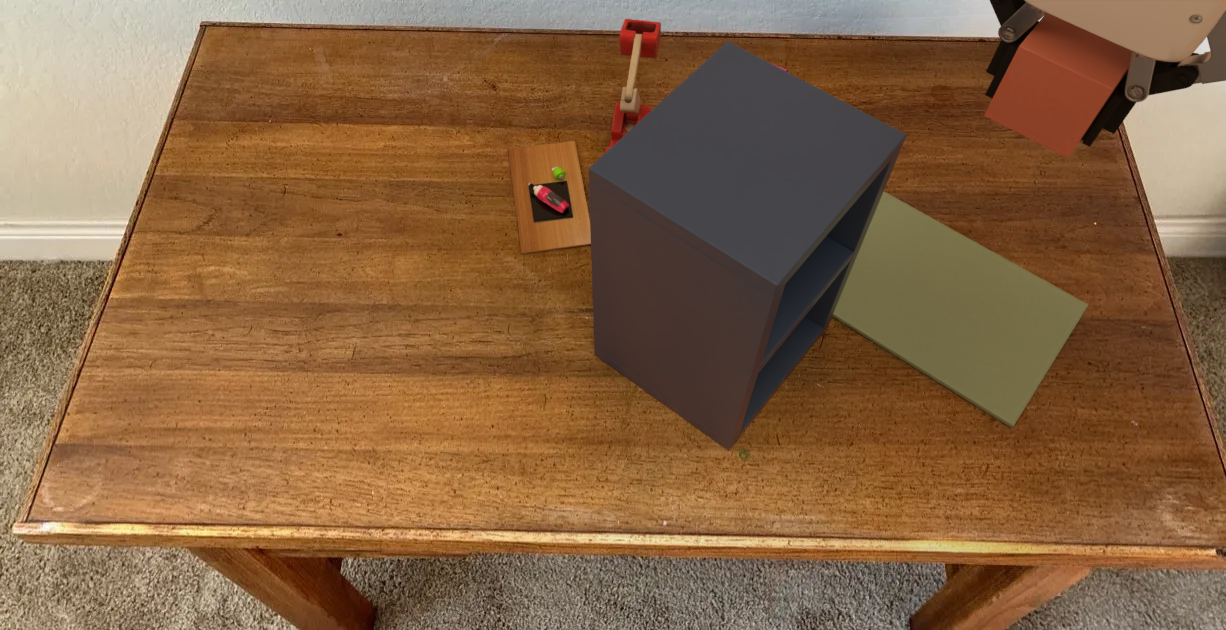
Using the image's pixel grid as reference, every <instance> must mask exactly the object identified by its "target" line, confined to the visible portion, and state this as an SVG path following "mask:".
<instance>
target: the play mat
mask: <svg viewBox="0 0 1226 630" xmlns="http://www.w3.org/2000/svg"><path fill="white" fill-rule="evenodd" d="M1088 307H1089V304H1088V303H1086V302H1084V300H1083V301H1082V300H1081V299H1079V298H1077V297H1076V296H1074V295H1072V294H1070V293H1069V292H1066V291H1064V290H1063V289H1061V288H1060V287H1058V286H1055V285H1054V284H1052V283H1050V282H1049V281H1046V280H1045V279H1043V278H1041V277H1039V276H1037V275H1036V274H1034V273H1032V272H1030V271H1029V270H1027V269H1025V268H1023V267H1022V266H1019V265H1018V264H1016V263H1014V262H1012V261H1011V260H1008V259H1007V258H1005V257H1003V256H1001V255H999V254H998V253H996V252H994V251H992V250H990V249H989V248H987V247H985V246H984V245H981V244H980V243H978V242H976V241H974V240H972V239H971V238H969V237H967V236H965V235H963V234H962V233H960V232H958V231H956V230H954V229H953V228H951V227H949V226H947V225H945V224H943V223H942V222H940V221H938V220H937V219H934V218H933V217H931V216H929V215H928V214H926V213H924V212H922V211H921V210H919V209H917V208H915V207H913V206H912V205H910V204H908V203H906V202H904V201H902V200H900V199H899V198H898V197H895V196H894V195H891V194H890V193H888V192H886V191H885V190H884V191H883V194H882V196H881V199H880V201H879V204H878V206H877V208H876V211H875V213H874V216H873V218H872V221H871V223H870V225H869V228H868V230H867V233H866V235H865V238H864V240H863V242H862V245H861V247H860V250H859V252H858V255H857V257H856V259H855V262H854V264H853V267H852V269H851V272H850V274H849V276H848V279H847V281H846V284H845V286H844V289H843V291H842V293H841V296H840V298H839V301H838V303H837V306H836V308H835V310H834V313H833V315H832V318H834V319H835V320H837V321H839V322H841V324H844V325H845V326H847V327H848V328H850V329H852V330H853V331H855V332H856V333H858V334H860V335H861V336H863V337H864V338H866V339H868V340H869V341H871V342H872V343H874V344H876V345H877V346H879V347H880V348H882V349H884V350H885V351H887V352H888V353H890V354H891V355H893V356H895V357H897V358H898V359H899V360H901V361H903V362H905V363H906V364H908V365H909V366H911V367H913V368H914V369H916V370H917V371H919V372H921V373H922V374H924V375H925V376H927V377H929V378H930V379H932V380H934V381H935V382H936V383H938V384H940V385H942V386H943V387H945V388H947V389H948V390H950V391H951V392H952V393H955V394H956V395H958V396H959V397H961V398H962V399H964V400H966V401H967V402H969V403H971V404H972V405H973V406H976V407H977V408H979V409H980V410H982V411H983V412H985V413H987V414H988V415H990V416H991V417H993V418H995V420H998V421H999V422H1001V423H1003V424H1004V425H1006V426H1008V427H1009V428H1010V429H1012V428H1014V426H1015V424H1016V423H1017V422H1018V420H1019V418H1020V416H1021V415H1022V413H1024V410H1025V409H1026V407H1027V406H1028V404H1029V403H1030V400H1031V399H1032V397H1033V395H1034V394H1035V392H1037V389H1038V388H1039V386H1040V384H1041V382H1042V381H1043V379H1044V378H1045V377H1046V374H1047V373H1048V372H1049V370H1050V368H1051V366H1052V365H1053V364H1054V361H1055V360H1056V358H1057V357H1058V355H1059V353H1060V352H1061V351H1062V349H1063V347H1064V345H1065V343H1066V342H1067V340H1068V339H1069V338H1070V336H1071V334H1072V333H1073V331H1074V329H1075V327H1076V326H1077V325H1078V322H1079V321H1080V319H1081V318H1082V317H1083V314H1085V311H1086V310H1087V308H1088Z"/></svg>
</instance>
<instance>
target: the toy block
mask: <svg viewBox="0 0 1226 630" xmlns="http://www.w3.org/2000/svg"><path fill="white" fill-rule="evenodd" d="M1038 21H1039V23H1038V24H1037V25H1036V26H1035V27H1034V29H1033V30H1032V31H1031V32H1030V34H1029V35H1028V36H1027V37H1026V38H1025V40H1024V41H1023V42H1022V43H1021V44H1020V46H1019V47H1018V49H1017V51H1016V53H1015V55H1014V57H1013V59H1012V61H1011V63H1010V65H1009V67H1008V69H1007V71H1006V73H1005V75H1004V77H1003V79H1002V81H1001V83H1000V85H999V87H998V89H997V91H996V93H995V94H994V96H993V98H991V100H990V102H989V104H988V106H987V108H986V110H985V112H984V114H983V117H985V118H987V119H988V120H991V121H993V122H995V123H997V124H999V125H1001V126H1003V127H1005V128H1007V129H1008V130H1009V129H1010V130H1011V131H1013V132H1015V133H1017V134H1019V135H1021V136H1023V137H1025V138H1027V139H1029V140H1031V141H1033V142H1034V143H1037V144H1039V145H1041V146H1043V147H1045V148H1047V149H1049V150H1051V151H1054V152H1055V153H1057V154H1059V155H1060V156H1063V157H1065V158H1066V159H1068V158H1069V157H1070V156H1071V154H1072V153H1073V152H1074V150H1075V149H1076V148H1077V146H1078V145H1079V143H1080V142H1081V141H1082V140H1081V139H1082V137H1083V136H1084V134H1085V133H1086V131H1087V130H1088V128H1089V127H1090V125H1091V124H1092V122H1093V121H1094V119H1095V118H1096V116H1097V115H1098V113H1099V112H1100V110H1101V109H1102V107H1103V106H1104V104H1105V102H1106V101H1107V99H1108V98H1109V97H1110V95H1111V94H1112V92H1113V91H1114V89H1115V88H1116V87H1117V85H1118V84H1119V82H1120V81H1121V79H1122V78H1123V77H1124V75H1125V74H1126V72H1127V71H1128V69H1129V64H1130V58H1131V53H1132V51H1131V50H1129V49H1127V48H1125V47H1122V46H1120V45H1118V44H1116V43H1113V42H1111V41H1109V40H1107V39H1104V38H1102V37H1100V36H1098V35H1095V34H1093V33H1091V32H1089V31H1086V30H1084V29H1082V28H1080V27H1078V26H1075V25H1073V24H1071V23H1069V22H1066V21H1064V20H1062V19H1060V18H1058V17H1055V16H1053V15H1051V14H1049V13H1046V14H1045V15H1044V16H1043V17H1042V18H1041V19H1040V20H1038Z"/></svg>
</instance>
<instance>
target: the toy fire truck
mask: <svg viewBox="0 0 1226 630" xmlns="http://www.w3.org/2000/svg"><path fill="white" fill-rule="evenodd" d="M661 33H662V22H660V21H652V20H651V21H650V20H640V19H632V18H625V19H624V20H623V23H622V26H621V29H620V32H619V50H620V55H621V56H626V57H627V56H629V57H630V63H629V69H628V76H627V80H626V86H623V87H622V89H621V97H620V101H618V100H617V101H616V103H615V107H614V112H613V119H612V122H611V123H612V124H611V128H610V129H611V130H610V142H609V146H607V147H605V151H604V154H605V153H606V152H607V151H608V150H609V149H610V148H611V147H612V146H613V145H615V144H616V143H617V142H618V141H619V140H620V139H621V138H622V137H623V136H624V135H626V134H627V133H628V132H629V131H630V130H631V129H632V128H633V127H634V126H635V125H636V124H638V123H639V122H640V121H641V120H642V119H643V118H644V117H645V116H646V115H647V114H648V113H650V112H651V106H650V105H646V104H642V101H641V97H640V93H639V89H638V88H637V87H636V84H637V77H638V71H639V64H640V58H647V59H648V58H650V59H657V57H658V52H659V48H660V42H661V38H662V34H661Z"/></svg>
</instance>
